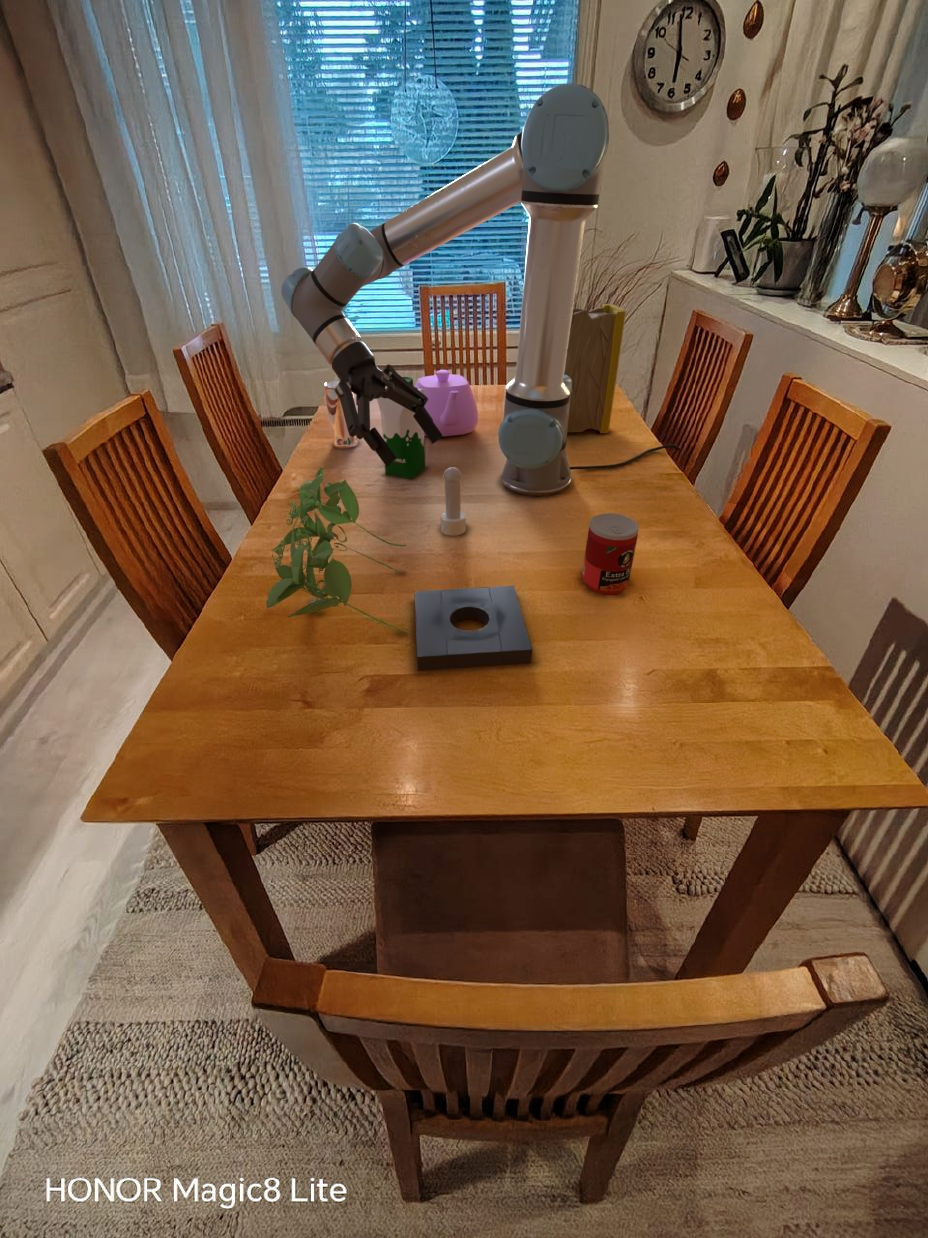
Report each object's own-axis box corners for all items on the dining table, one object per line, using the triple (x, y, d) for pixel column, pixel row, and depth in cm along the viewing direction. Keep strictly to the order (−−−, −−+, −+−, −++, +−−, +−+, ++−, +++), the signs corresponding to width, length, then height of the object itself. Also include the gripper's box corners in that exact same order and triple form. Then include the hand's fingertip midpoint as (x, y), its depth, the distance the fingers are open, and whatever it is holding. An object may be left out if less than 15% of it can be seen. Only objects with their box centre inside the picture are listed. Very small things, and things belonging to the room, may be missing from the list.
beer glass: (354, 450, 147) (346, 388, 138) (328, 448, 149) (318, 386, 139) (363, 440, 153) (356, 380, 144) (338, 438, 154) (329, 378, 145)
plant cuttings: (376, 579, 113) (267, 521, 103) (427, 512, 105) (314, 443, 96) (371, 712, 85) (221, 649, 76) (439, 633, 78) (282, 553, 68)
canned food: (601, 600, 95) (611, 540, 88) (572, 576, 101) (579, 518, 94) (638, 588, 98) (650, 529, 91) (607, 565, 103) (617, 508, 97)
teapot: (394, 423, 163) (389, 366, 154) (468, 417, 166) (468, 360, 157) (407, 454, 145) (402, 391, 136) (489, 446, 149) (490, 384, 140)
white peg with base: (464, 523, 116) (464, 462, 109) (466, 535, 112) (466, 472, 105) (440, 524, 116) (438, 463, 108) (441, 536, 112) (439, 473, 105)
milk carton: (430, 466, 139) (426, 378, 127) (413, 481, 132) (408, 389, 120) (397, 461, 141) (390, 374, 129) (379, 476, 135) (370, 385, 123)
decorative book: (598, 420, 163) (613, 298, 145) (611, 434, 155) (630, 306, 136) (527, 424, 161) (534, 301, 143) (537, 439, 152) (545, 310, 134)
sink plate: (513, 598, 96) (514, 585, 94) (531, 663, 83) (532, 649, 81) (415, 603, 95) (414, 591, 93) (418, 670, 82) (417, 657, 80)
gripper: (382, 353, 118) (444, 441, 120) (287, 382, 102) (360, 483, 104) (400, 327, 113) (465, 420, 115) (302, 354, 96) (380, 461, 99)
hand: (415, 450), depth 109 cm, fingers open, 13 cm apart
